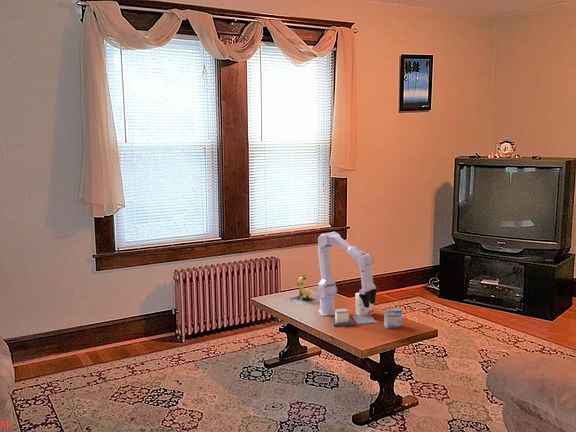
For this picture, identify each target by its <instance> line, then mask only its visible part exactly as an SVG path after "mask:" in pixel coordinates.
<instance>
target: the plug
mask: <svg viewBox="0 0 576 432" xmlns="http://www.w3.org/2000/svg"><path fill="white" fill-rule="evenodd" d="M334 312H335V315H334V318H335V322H336V323H341V322H349V317H350V316H349V315H350V314H349V312H350V311H349V310H348V309H347V308H337V309H335V308H334Z"/></svg>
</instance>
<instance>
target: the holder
mask: <svg viewBox="0 0 576 432" xmlns="http://www.w3.org/2000/svg"><path fill="white" fill-rule="evenodd" d="M330 323H331V324H332V326H333V327H334V328H335V327H347V326H349V327H350V326H354V323H355V322H354V321H353V320H352V319H351V317H350V316H349V322H341V323H336V322H335V317H334V318H330Z"/></svg>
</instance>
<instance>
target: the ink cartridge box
mask: <svg viewBox="0 0 576 432" xmlns="http://www.w3.org/2000/svg"><path fill="white" fill-rule="evenodd" d="M361 289H362V288H361ZM361 289H359V292H356V293H354V294H355V296H354V297H355V300H354V301H355V316H365V315H371V316H373V315H374V314H375V313H374V311H375V309H374V308H375V307H374V306H375V304H370V301H369V308H365V307H364V304H363V301H362V299H361V298H360V296H359V294H360V293H361Z"/></svg>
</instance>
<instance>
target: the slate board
mask: <svg viewBox="0 0 576 432" xmlns="http://www.w3.org/2000/svg"><path fill="white" fill-rule="evenodd" d="M352 318H353V320H354V321H355V322H356V323H357V325H370V324H377V323H378V321H377V320H375V317H373V315H365V316H358V315H354V316H352Z"/></svg>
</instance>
